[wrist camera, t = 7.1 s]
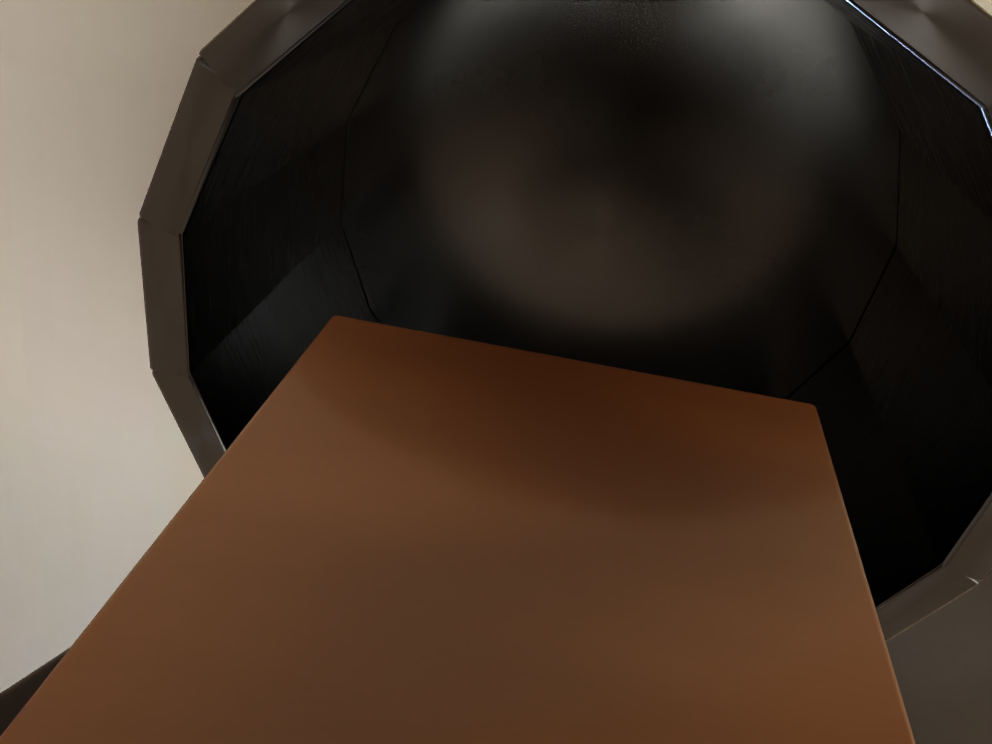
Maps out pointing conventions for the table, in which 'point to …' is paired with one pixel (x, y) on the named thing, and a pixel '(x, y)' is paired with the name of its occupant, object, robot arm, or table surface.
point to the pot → (612, 221)
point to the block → (491, 569)
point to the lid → (948, 670)
